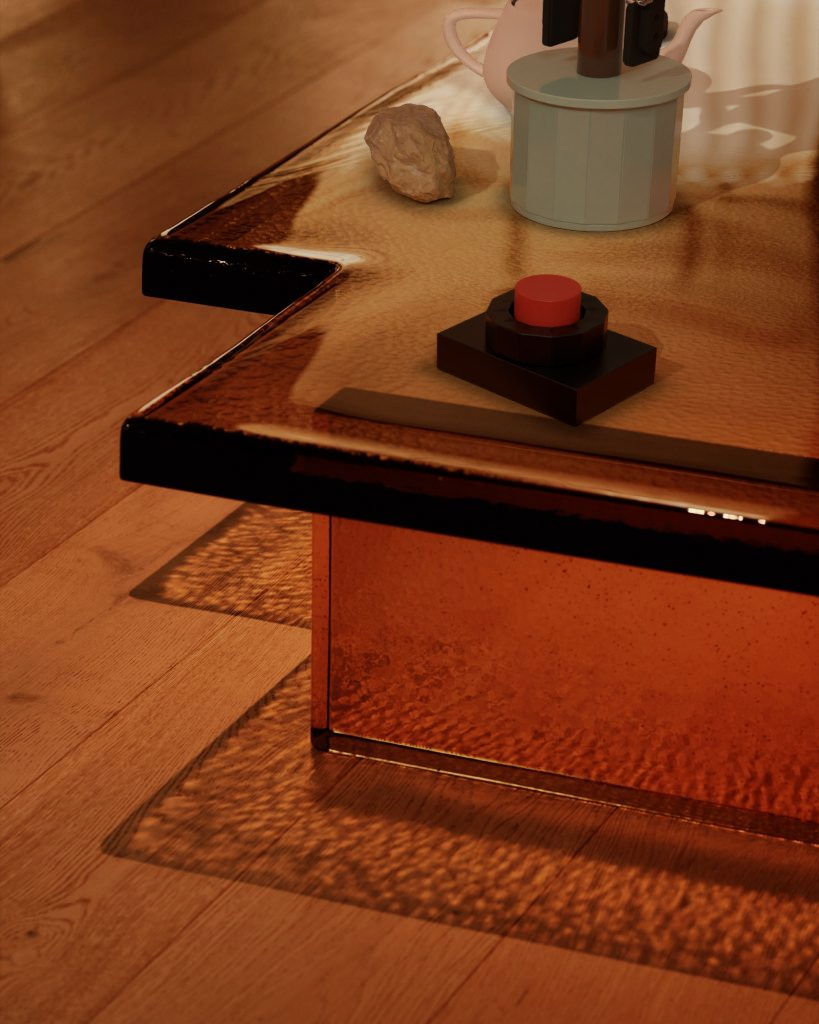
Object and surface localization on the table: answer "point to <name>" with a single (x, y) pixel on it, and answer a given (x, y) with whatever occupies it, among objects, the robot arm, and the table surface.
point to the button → (547, 300)
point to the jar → (594, 164)
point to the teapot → (535, 40)
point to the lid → (597, 68)
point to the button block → (548, 360)
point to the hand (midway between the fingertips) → (599, 49)
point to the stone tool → (412, 151)
